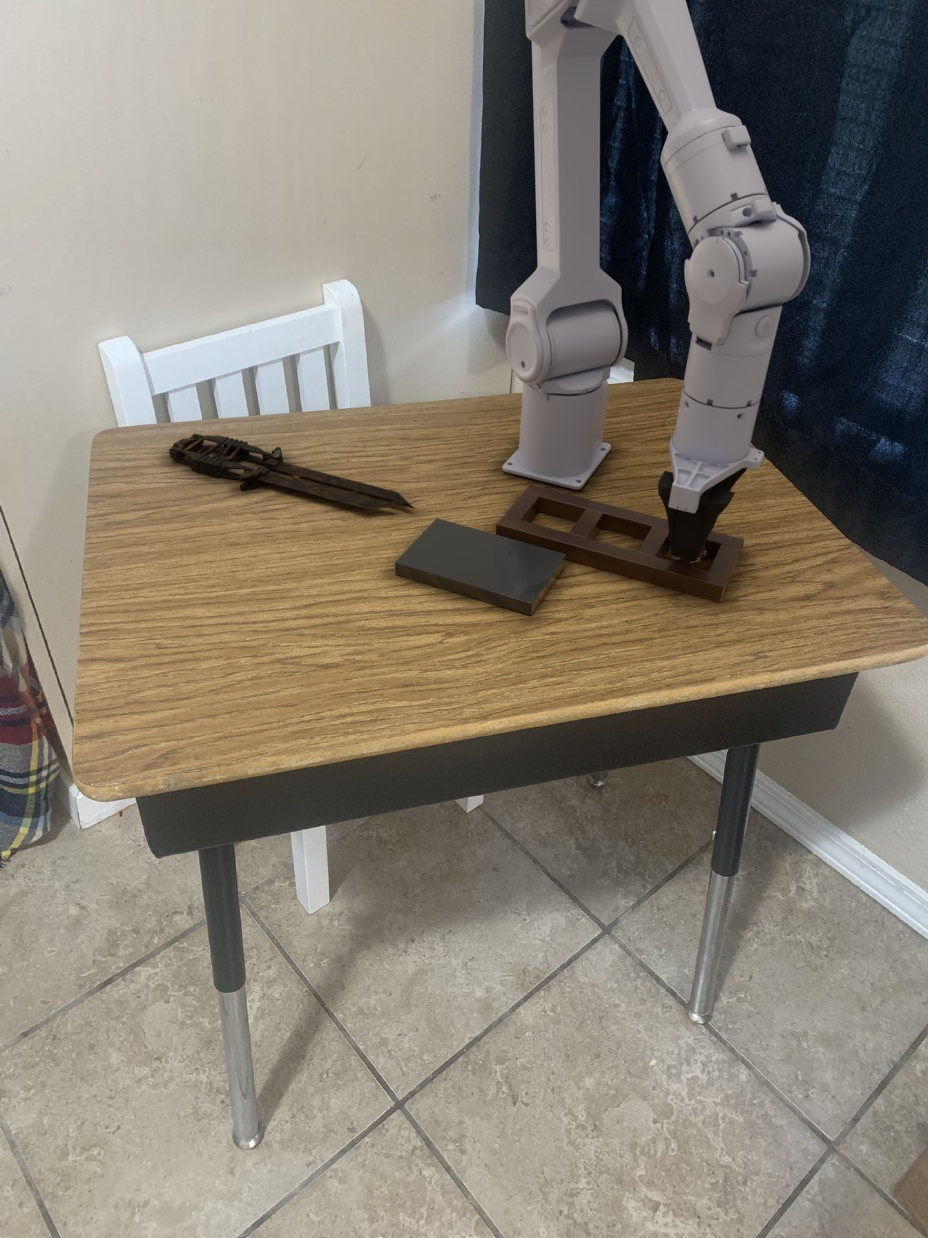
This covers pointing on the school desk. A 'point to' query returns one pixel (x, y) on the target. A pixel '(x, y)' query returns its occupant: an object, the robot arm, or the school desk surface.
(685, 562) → the chocolate
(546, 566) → the board
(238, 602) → the school desk surface
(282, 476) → the knife
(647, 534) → the rack
